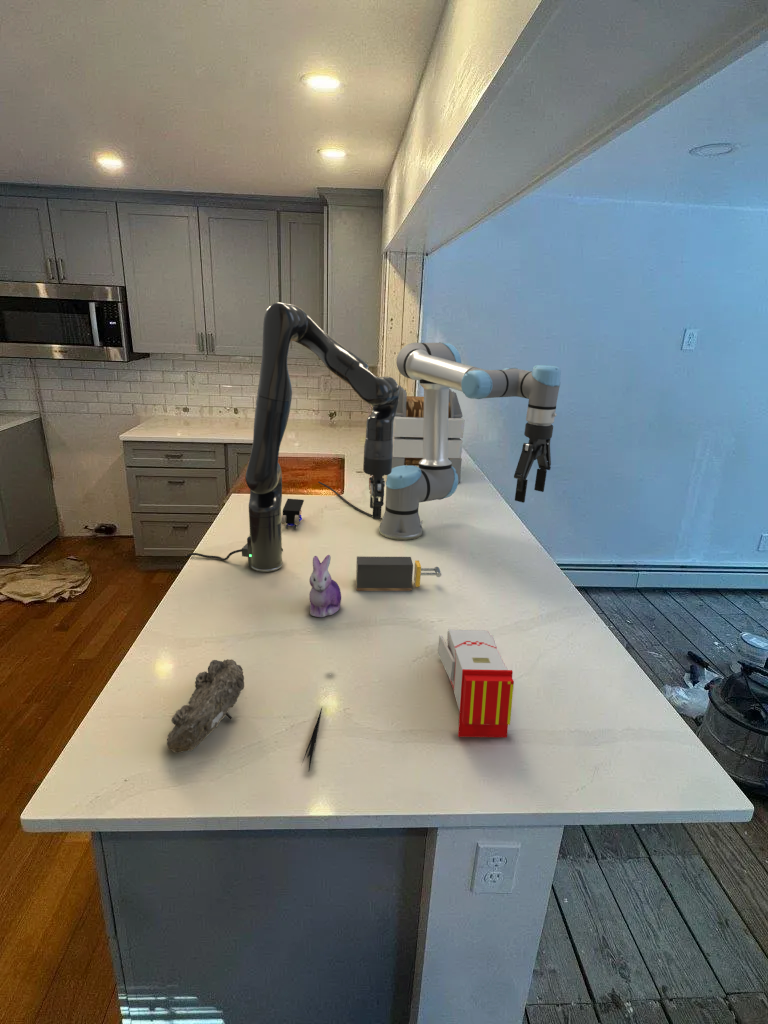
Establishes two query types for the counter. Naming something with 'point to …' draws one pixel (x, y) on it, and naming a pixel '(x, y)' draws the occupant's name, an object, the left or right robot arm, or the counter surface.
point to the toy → (478, 682)
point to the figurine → (323, 590)
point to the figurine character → (292, 512)
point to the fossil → (206, 705)
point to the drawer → (418, 573)
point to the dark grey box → (384, 573)
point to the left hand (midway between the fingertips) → (375, 513)
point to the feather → (313, 740)
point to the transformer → (411, 431)
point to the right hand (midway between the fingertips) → (529, 496)
